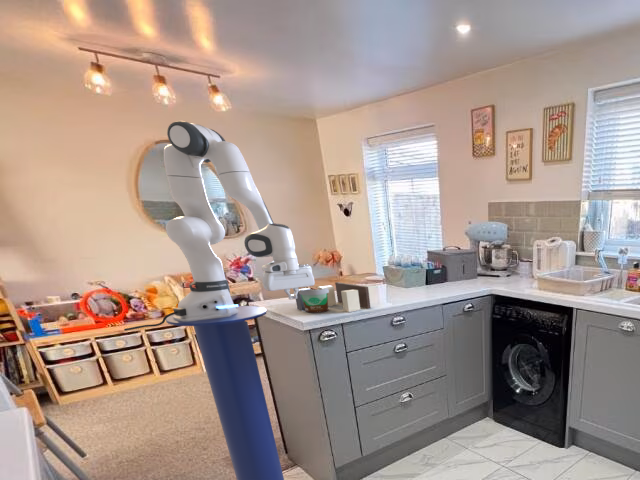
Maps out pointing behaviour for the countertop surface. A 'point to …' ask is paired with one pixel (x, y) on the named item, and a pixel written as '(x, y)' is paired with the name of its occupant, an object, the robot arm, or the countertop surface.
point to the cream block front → (350, 300)
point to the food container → (315, 300)
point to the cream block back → (329, 294)
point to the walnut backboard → (362, 293)
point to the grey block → (300, 300)
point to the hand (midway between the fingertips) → (293, 299)
